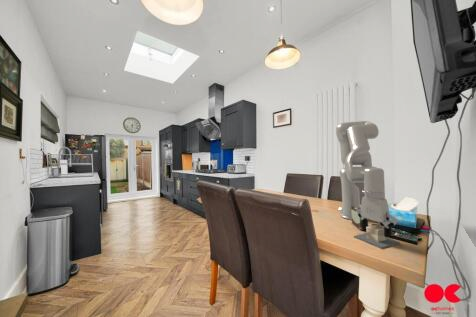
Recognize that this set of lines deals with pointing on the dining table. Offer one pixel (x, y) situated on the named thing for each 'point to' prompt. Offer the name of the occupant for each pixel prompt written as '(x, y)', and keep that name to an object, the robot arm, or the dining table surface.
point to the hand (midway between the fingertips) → (375, 232)
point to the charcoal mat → (381, 244)
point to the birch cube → (375, 233)
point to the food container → (356, 218)
